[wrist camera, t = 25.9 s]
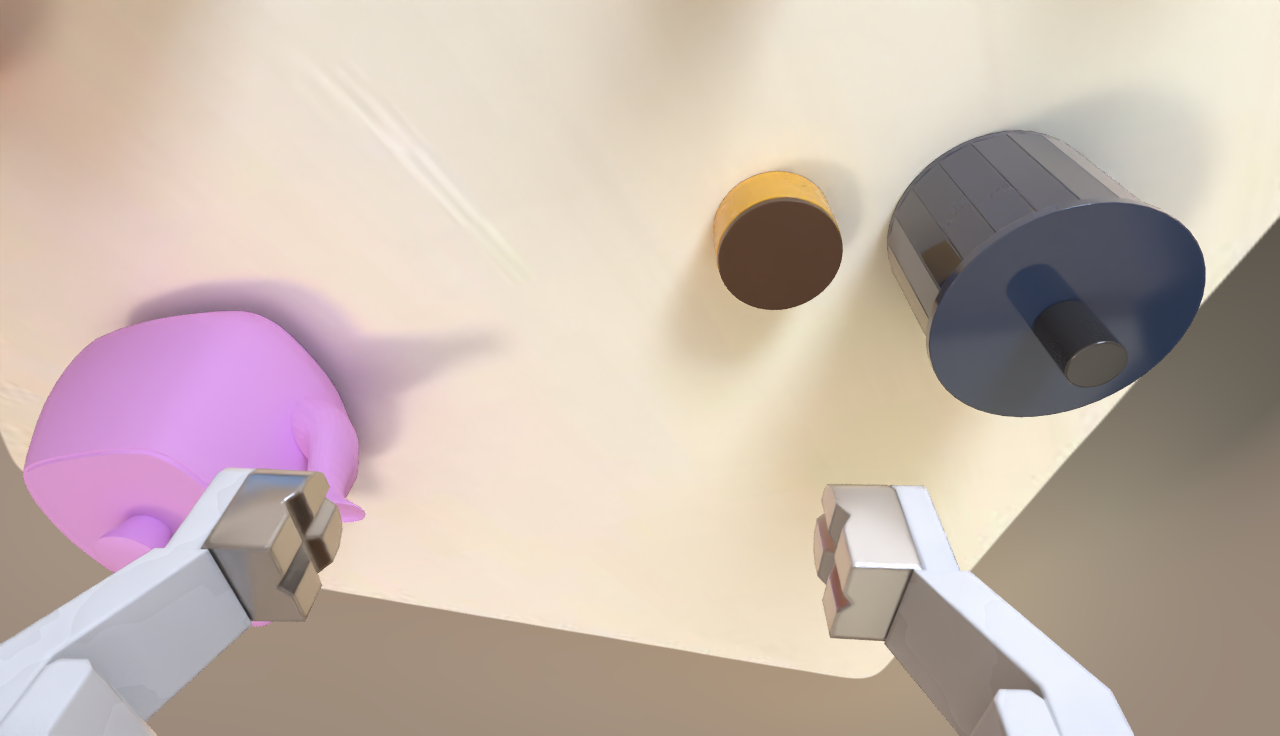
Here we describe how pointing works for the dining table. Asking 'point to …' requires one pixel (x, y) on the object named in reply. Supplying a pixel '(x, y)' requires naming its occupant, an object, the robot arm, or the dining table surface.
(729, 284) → the tin
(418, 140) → the dining table surface
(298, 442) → the teapot
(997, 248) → the lid
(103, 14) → the dining table surface
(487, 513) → the dining table surface
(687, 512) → the dining table surface
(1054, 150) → the pot
